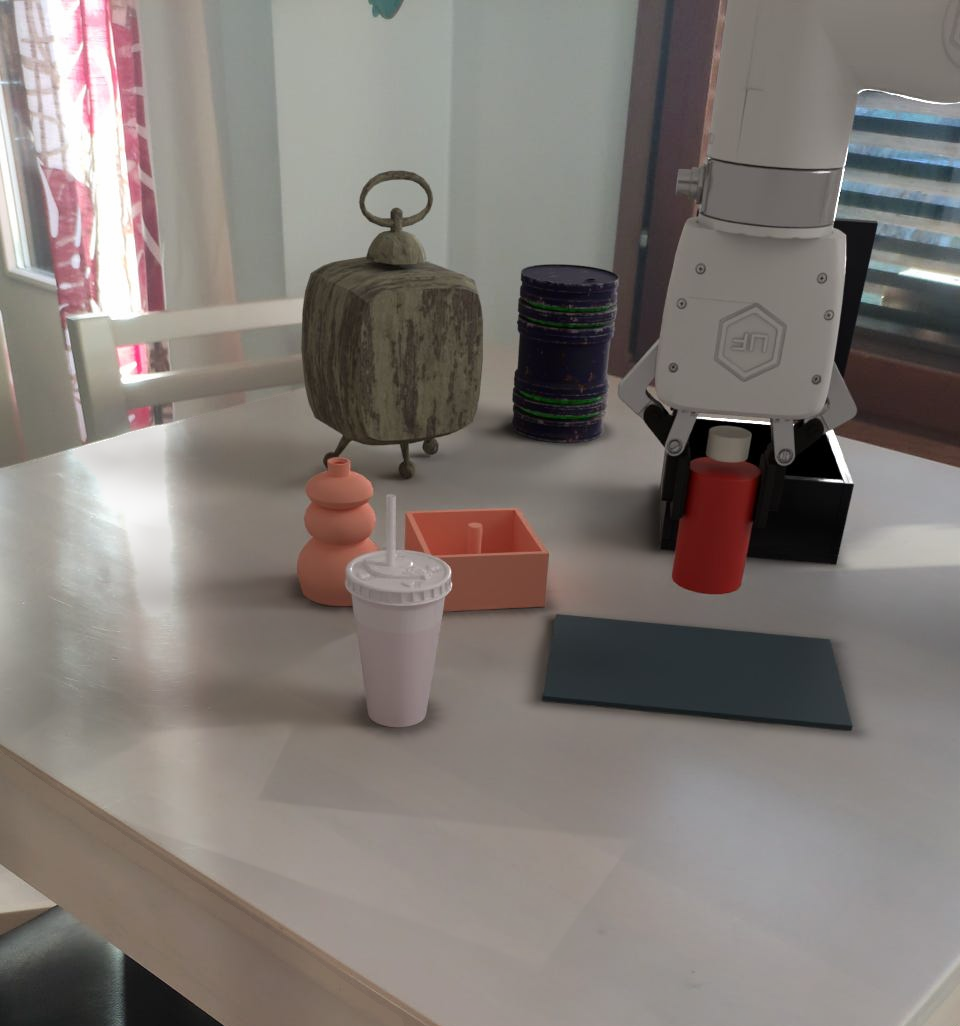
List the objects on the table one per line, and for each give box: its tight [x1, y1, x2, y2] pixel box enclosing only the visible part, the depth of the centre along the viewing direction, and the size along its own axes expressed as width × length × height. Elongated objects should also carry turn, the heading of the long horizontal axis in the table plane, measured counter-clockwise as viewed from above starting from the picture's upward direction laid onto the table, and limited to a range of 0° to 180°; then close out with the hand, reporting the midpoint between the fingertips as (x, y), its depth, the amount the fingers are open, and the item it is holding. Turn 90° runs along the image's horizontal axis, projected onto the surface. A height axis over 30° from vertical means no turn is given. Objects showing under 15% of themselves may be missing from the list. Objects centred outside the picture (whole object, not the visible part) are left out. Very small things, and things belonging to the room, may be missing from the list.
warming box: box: [659, 413, 855, 565], centre depth 109 cm, size 16×15×7 cm
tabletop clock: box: [300, 169, 484, 480], centre depth 111 cm, size 14×9×25 cm, turn 122°
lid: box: [669, 207, 879, 422], centre depth 108 cm, size 16×15×1 cm
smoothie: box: [345, 493, 452, 728], centre depth 76 cm, size 6×6×14 cm
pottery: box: [296, 456, 550, 612], centre depth 94 cm, size 18×10×10 cm, turn 102°
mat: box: [541, 613, 853, 732], centre depth 87 cm, size 20×13×1 cm, turn 83°
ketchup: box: [670, 426, 761, 595], centre depth 80 cm, size 5×5×10 cm
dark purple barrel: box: [511, 263, 620, 443], centre depth 128 cm, size 10×10×15 cm
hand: (717, 513), depth 80 cm, fingers closed on ketchup, 4 cm apart
